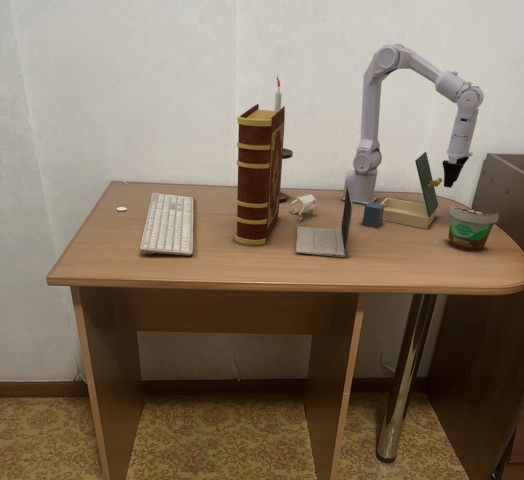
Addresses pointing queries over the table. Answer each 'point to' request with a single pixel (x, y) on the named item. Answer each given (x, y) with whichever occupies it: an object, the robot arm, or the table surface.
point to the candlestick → (286, 152)
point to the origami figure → (305, 203)
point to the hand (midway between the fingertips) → (450, 183)
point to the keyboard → (169, 225)
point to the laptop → (326, 236)
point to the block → (373, 214)
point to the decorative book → (259, 173)
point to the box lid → (427, 183)
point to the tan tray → (407, 213)
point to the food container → (470, 228)
